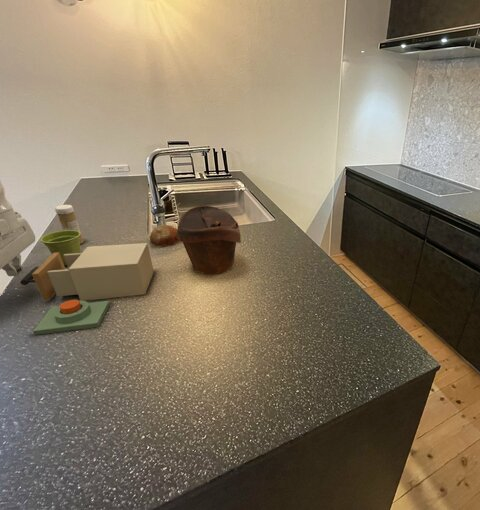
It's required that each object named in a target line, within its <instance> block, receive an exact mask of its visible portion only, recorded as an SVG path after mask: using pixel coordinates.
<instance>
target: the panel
mask: <svg viewBox="0 0 480 510" xmlns="http://www.w3.org/2000/svg"><path fill="white" fill-rule="evenodd" d="M78 301H79V302H80V305H81V309H80V310H79V311H77V312H74V313H71V314H63V313H62V311H61V309H60V305H56V306H51V307H50V308H49V309H48V311H47V312H46V314H44V316H43V317H42V319H41V320H40V321H39V322H38V324H37V325H36V326H35V328H34V329H33V330H32V332H33V334H34V336H39V335H45V334H52V333H53V334H54V333H61V332H68V331H76V330H84V329H92V328H99V327H100V325H101V323H102V321H103V319H104V317H105V316H106V313H107V312H108V310H109V308H110V306H111V303H110V300H101V301H95V302H89V301H87V300H86V301H81V300H80V299H79V300H78Z"/></svg>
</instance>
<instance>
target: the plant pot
mask: <svg viewBox="0 0 480 510" xmlns="http://www.w3.org/2000/svg"><path fill="white" fill-rule="evenodd" d="M80 232H81V231H80ZM80 232H79V231H75V230H63V229H62V230H57V231H53V232H49V233H47V234H45V235H43V236H41V237H40V239H39V241H40V242H41V243H43V244H44V246H45V247H46V248H47V249H48V250H49V252H50V253H51V255H52V254H53V253H58V252H59V253H60V256H61V259H62V261H63V264H64V266H67V264H66V261H65V258H64V256H63V255H64V254H74V253H82V249H81V244H80V242H79V240H80V235H82V233H81V234H80Z"/></svg>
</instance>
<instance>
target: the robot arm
mask: <svg viewBox="0 0 480 510" xmlns="http://www.w3.org/2000/svg"><path fill="white" fill-rule="evenodd" d="M5 191H6V190H5V188H4V185H3V184H2V181H1V180H0V270H3V271H5V273H6V275H7V277H17V276H18V275H19V274H20V273H22V271H23V269H24V268H23V266H22V255H21V253H23V252H24V251H25V250H26V249H27V248H29V247H31V245H32V244H34V243H35V242H36V235H35V232H34V230H33V229H32V227H31V225H30V224H29V222H28V220H27V219H26V218H24V217H22V214H21V213H20V212H17V211H16V210H14V208H13V206H12V204H11V203H10V202H9V201H8V200H7V197H6V195H5V193H6V192H5Z"/></svg>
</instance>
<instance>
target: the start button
mask: <svg viewBox="0 0 480 510" xmlns="http://www.w3.org/2000/svg"><path fill="white" fill-rule="evenodd" d="M79 301H80V300H78V299H70V300H67V301H64V302H62V303H61V304H60V305H59V306H60V309H61V311H62V313H63V314H71V313H74V312H77V311H79V310H80V309H81V305H80V302H79Z"/></svg>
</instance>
